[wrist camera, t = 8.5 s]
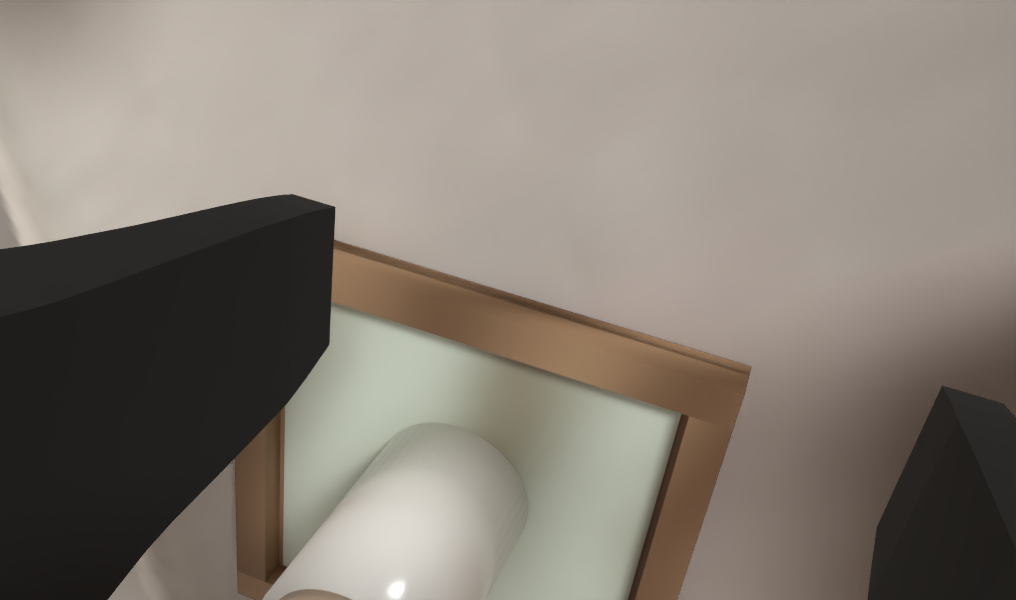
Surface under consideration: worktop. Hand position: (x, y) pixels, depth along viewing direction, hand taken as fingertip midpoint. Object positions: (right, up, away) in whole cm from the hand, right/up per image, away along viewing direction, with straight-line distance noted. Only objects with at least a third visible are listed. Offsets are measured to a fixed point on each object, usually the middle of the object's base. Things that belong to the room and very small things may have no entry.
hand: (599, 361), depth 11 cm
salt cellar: (-3, -5, +15) cm, 16 cm away
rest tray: (-2, -5, +15) cm, 16 cm away
